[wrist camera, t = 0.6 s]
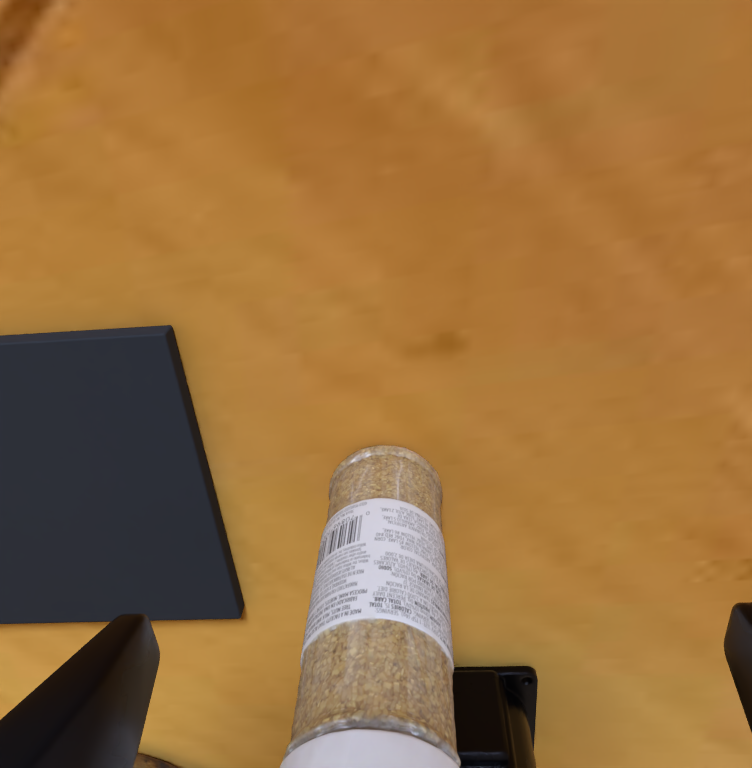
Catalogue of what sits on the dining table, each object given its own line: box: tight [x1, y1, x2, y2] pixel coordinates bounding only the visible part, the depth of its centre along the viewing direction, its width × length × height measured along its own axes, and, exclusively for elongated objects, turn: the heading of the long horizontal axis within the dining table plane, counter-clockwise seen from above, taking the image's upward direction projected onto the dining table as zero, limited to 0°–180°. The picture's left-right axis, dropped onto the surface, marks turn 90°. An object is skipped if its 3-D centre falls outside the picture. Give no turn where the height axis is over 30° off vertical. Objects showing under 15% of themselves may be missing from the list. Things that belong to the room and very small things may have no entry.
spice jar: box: [280, 445, 461, 768], centre depth 20 cm, size 5×5×14 cm
